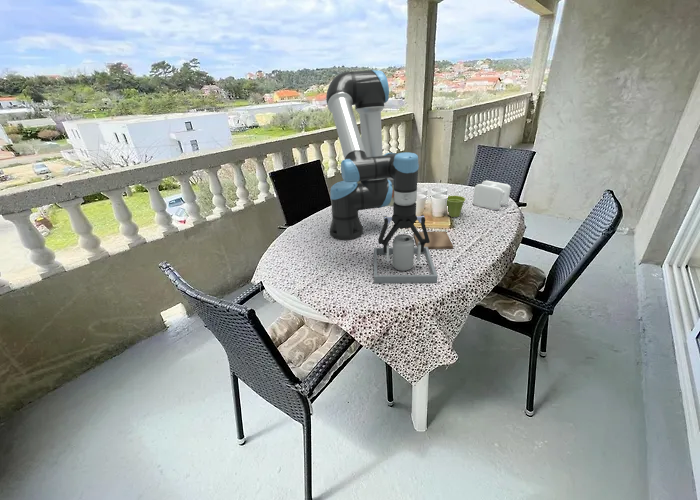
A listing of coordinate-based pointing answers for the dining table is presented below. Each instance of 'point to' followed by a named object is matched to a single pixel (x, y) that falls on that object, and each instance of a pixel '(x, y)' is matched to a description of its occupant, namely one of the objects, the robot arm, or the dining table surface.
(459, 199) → the plant pot
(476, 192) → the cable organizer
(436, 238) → the pad
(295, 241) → the dining table surface
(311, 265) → the dining table surface
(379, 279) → the gray square frame
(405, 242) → the can
